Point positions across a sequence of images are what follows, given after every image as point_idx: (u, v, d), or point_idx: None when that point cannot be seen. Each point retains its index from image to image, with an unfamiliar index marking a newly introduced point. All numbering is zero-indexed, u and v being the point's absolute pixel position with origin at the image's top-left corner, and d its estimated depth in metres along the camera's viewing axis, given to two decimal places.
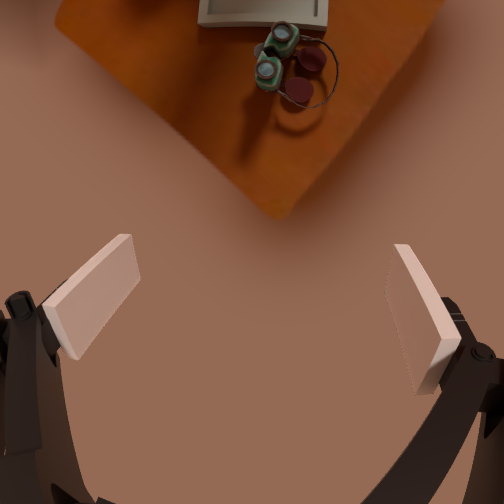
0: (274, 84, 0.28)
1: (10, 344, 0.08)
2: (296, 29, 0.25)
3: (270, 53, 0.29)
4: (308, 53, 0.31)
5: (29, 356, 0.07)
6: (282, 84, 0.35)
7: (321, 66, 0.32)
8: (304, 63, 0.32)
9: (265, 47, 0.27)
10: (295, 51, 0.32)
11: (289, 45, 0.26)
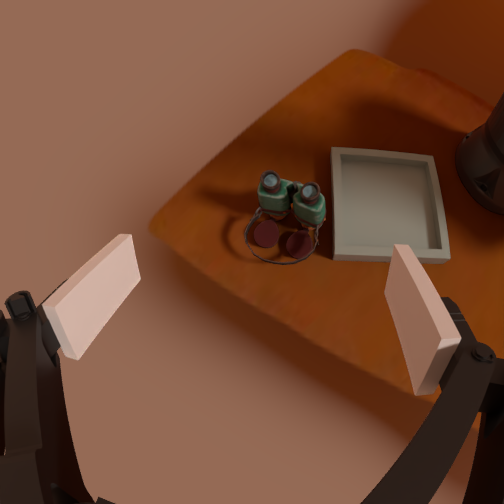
0: (259, 193, 0.35)
1: (10, 344, 0.08)
2: (317, 209, 0.33)
3: (294, 195, 0.36)
4: (304, 239, 0.39)
5: (29, 356, 0.07)
6: (271, 220, 0.42)
7: (292, 253, 0.39)
8: (293, 237, 0.40)
9: (296, 185, 0.35)
10: (306, 230, 0.40)
11: (299, 204, 0.34)
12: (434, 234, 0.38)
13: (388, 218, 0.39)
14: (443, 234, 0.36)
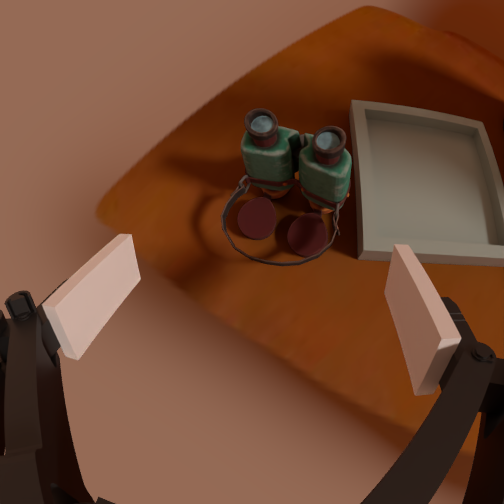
0: (244, 149, 0.21)
1: (9, 344, 0.08)
2: (340, 174, 0.19)
3: None
4: (314, 227, 0.25)
5: (29, 356, 0.07)
6: (265, 198, 0.27)
7: (296, 248, 0.25)
8: (298, 223, 0.26)
9: (304, 137, 0.20)
10: (317, 213, 0.26)
11: (310, 165, 0.20)
12: (494, 225, 0.23)
13: (435, 200, 0.25)
14: None
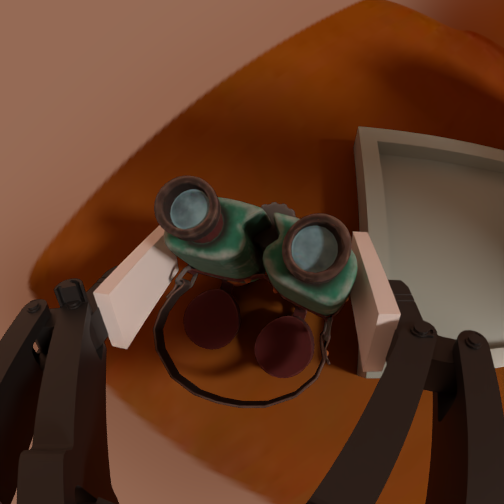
0: (168, 244, 0.12)
1: (54, 332, 0.09)
2: (335, 299, 0.11)
3: (269, 241, 0.14)
4: (294, 338, 0.17)
5: (73, 348, 0.08)
6: (225, 286, 0.19)
7: (266, 367, 0.17)
8: (270, 330, 0.17)
9: (274, 218, 0.12)
10: (300, 311, 0.18)
11: (281, 280, 0.11)
12: None
13: (470, 280, 0.17)
14: None
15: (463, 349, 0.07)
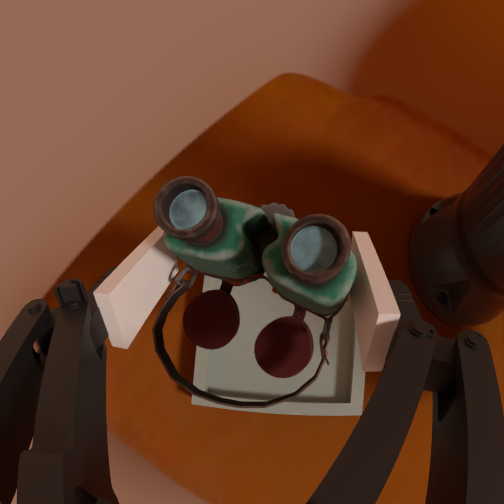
0: (167, 245, 0.12)
1: (54, 332, 0.09)
2: (334, 299, 0.11)
3: (268, 241, 0.14)
4: (294, 339, 0.17)
5: (73, 348, 0.08)
6: (224, 286, 0.19)
7: (266, 367, 0.17)
8: (269, 331, 0.17)
9: (273, 219, 0.12)
10: (300, 311, 0.18)
11: (280, 281, 0.11)
12: (347, 375, 0.28)
13: None
14: (357, 381, 0.26)
15: (463, 349, 0.07)
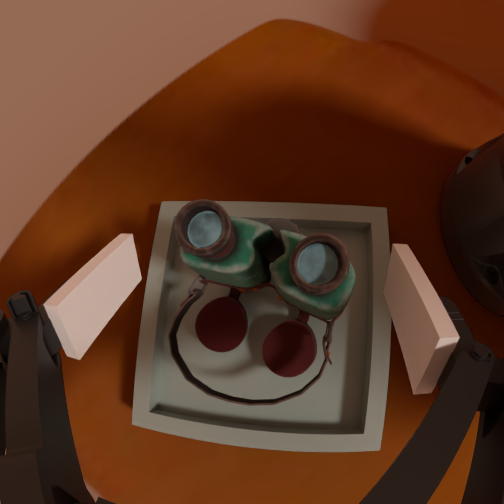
0: (184, 259, 0.13)
1: (11, 343, 0.08)
2: (336, 306, 0.12)
3: (275, 254, 0.15)
4: (299, 341, 0.18)
5: (30, 356, 0.07)
6: (232, 293, 0.20)
7: (273, 367, 0.18)
8: (276, 334, 0.18)
9: (280, 234, 0.13)
10: (304, 315, 0.19)
11: (287, 291, 0.12)
12: (360, 390, 0.18)
13: (256, 357, 0.19)
14: (375, 401, 0.16)
15: None
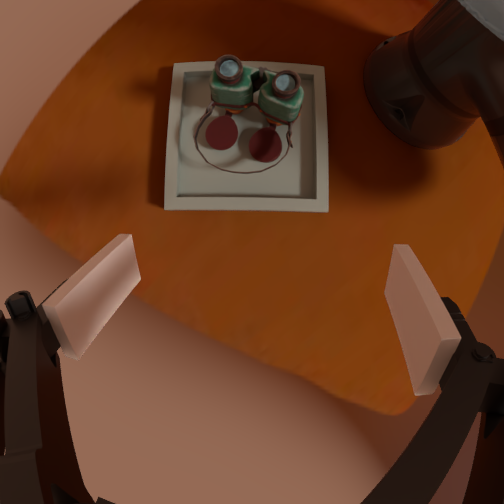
0: (213, 86, 0.22)
1: (10, 344, 0.08)
2: (294, 106, 0.23)
3: (259, 84, 0.24)
4: (271, 139, 0.29)
5: (29, 356, 0.07)
6: (227, 115, 0.30)
7: (256, 156, 0.30)
8: (257, 136, 0.29)
9: (264, 73, 0.22)
10: (273, 126, 0.30)
11: (269, 98, 0.23)
12: (311, 174, 0.31)
13: (244, 154, 0.31)
14: (321, 178, 0.30)
15: None
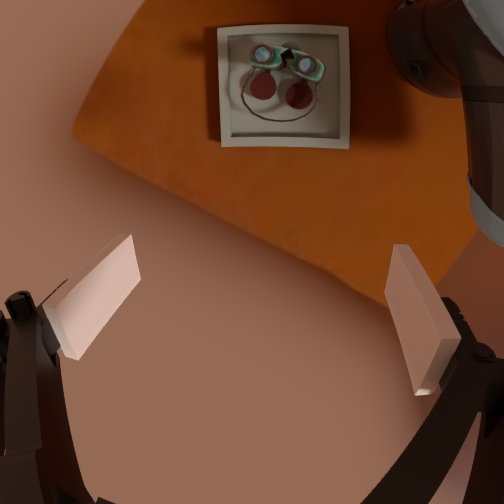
0: (251, 63, 0.27)
1: (10, 344, 0.08)
2: (316, 78, 0.27)
3: (289, 56, 0.28)
4: (303, 91, 0.34)
5: (29, 356, 0.07)
6: (266, 70, 0.34)
7: (292, 105, 0.35)
8: (291, 89, 0.34)
9: (291, 51, 0.26)
10: (304, 79, 0.33)
11: (296, 73, 0.27)
12: (337, 117, 0.36)
13: (282, 101, 0.36)
14: (344, 122, 0.35)
15: None
